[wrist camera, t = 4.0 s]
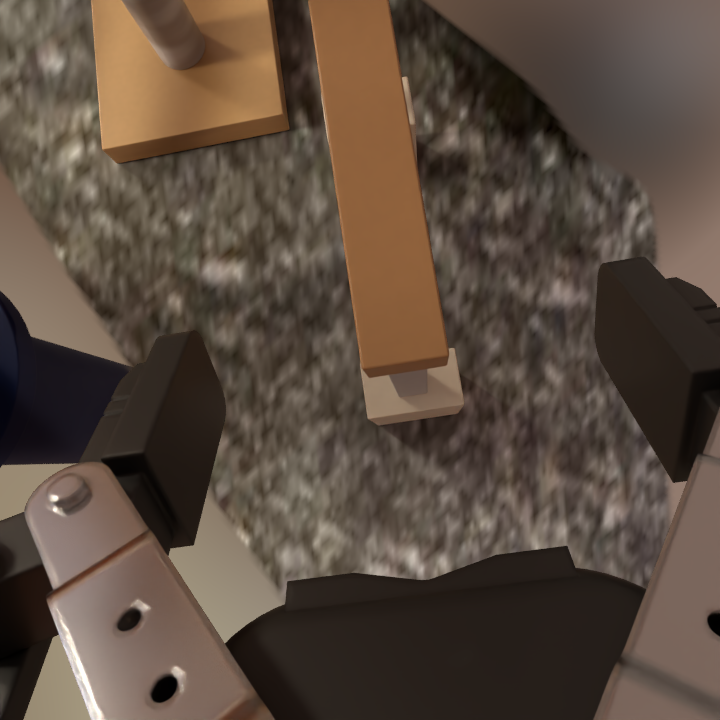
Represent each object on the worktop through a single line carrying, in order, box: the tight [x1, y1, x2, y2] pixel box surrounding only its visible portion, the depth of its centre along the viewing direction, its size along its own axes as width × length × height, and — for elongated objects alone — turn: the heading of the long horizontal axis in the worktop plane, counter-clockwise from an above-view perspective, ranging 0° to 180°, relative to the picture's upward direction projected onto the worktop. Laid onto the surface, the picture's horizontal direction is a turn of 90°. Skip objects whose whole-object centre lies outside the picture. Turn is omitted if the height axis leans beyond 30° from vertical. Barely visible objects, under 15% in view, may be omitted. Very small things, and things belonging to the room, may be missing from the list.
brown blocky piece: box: [308, 0, 464, 425], centre depth 24 cm, size 4×15×14 cm, turn 8°
